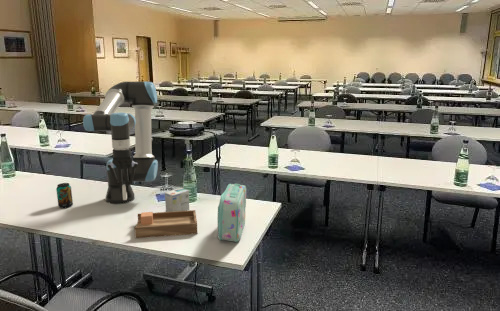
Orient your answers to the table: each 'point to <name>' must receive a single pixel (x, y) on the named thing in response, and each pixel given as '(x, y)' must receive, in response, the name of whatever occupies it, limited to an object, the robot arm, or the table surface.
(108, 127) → the robot arm
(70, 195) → the beverage can
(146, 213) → the block
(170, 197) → the light bulb box
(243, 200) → the lunch box
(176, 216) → the box
